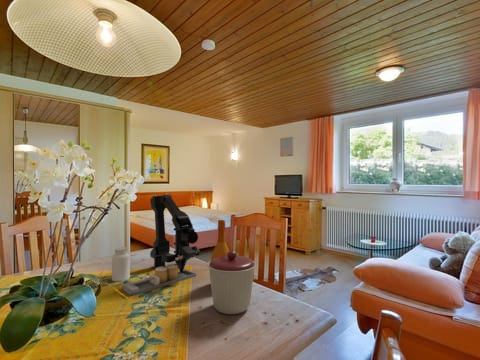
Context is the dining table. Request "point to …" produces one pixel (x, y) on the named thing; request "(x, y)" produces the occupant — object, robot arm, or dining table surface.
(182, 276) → the tray
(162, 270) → the amber jar
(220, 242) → the wine bottle
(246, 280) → the canister
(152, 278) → the pusher
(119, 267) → the pill bottle
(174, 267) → the amber jar
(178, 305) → the dining table surface
